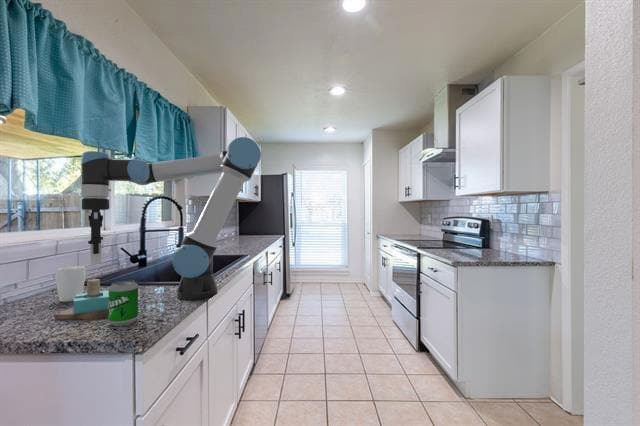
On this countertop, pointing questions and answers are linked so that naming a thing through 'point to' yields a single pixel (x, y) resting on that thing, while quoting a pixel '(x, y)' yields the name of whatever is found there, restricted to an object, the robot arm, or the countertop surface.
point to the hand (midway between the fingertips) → (96, 261)
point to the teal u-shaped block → (90, 302)
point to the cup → (70, 282)
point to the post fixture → (92, 291)
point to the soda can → (123, 303)
